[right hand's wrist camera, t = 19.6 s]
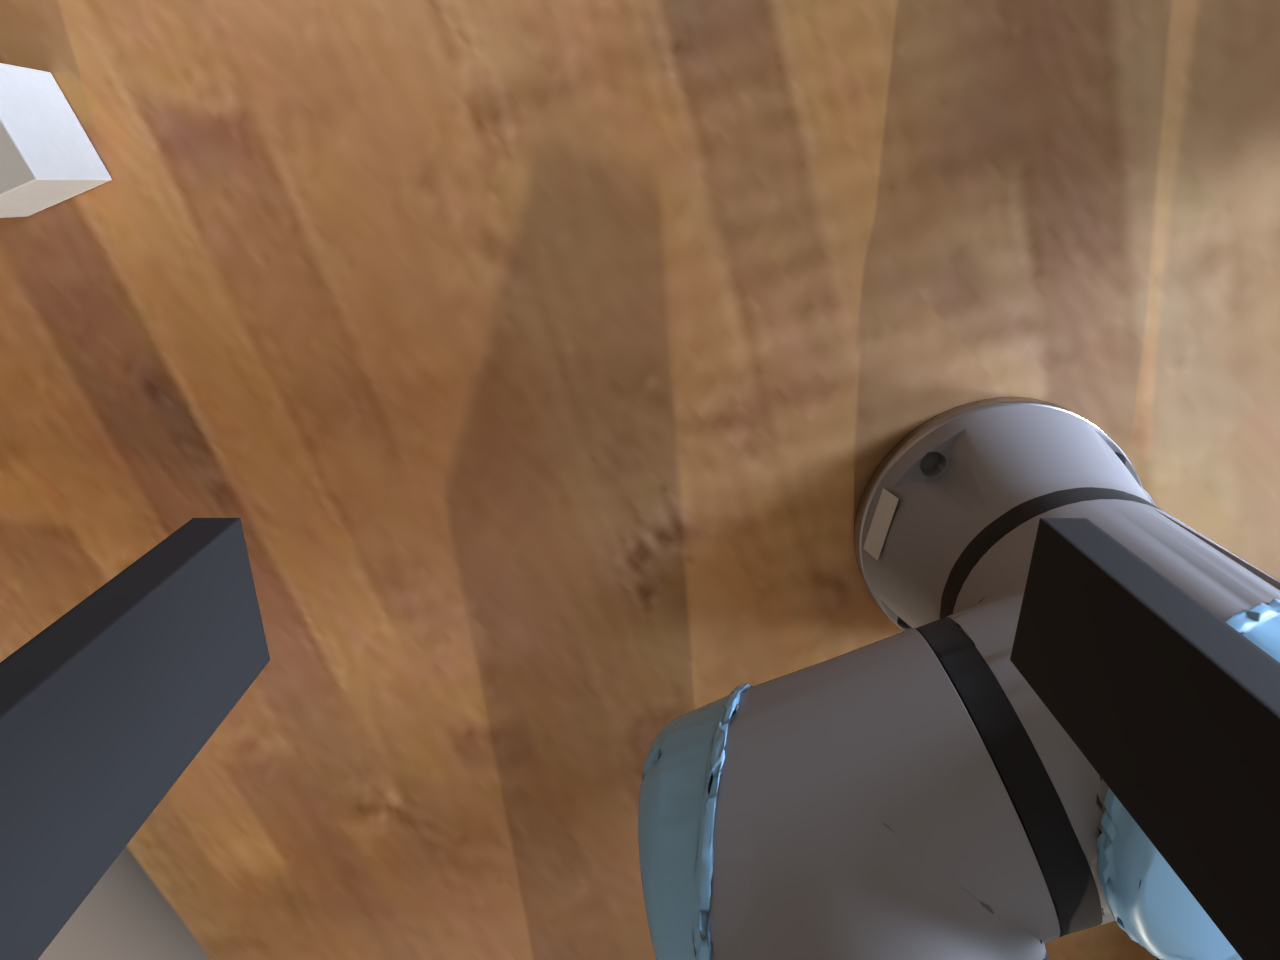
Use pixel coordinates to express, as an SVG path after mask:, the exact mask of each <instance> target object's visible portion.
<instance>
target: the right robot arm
mask: <svg viewBox="0 0 1280 960" xmlns="http://www.w3.org/2000/svg"><path fill="white" fill-rule="evenodd" d="M854 542H855V553H856V559H857V563H858V566H859V570H860V573H861V575H862V577H863V580H864V582H865V584H866V585H867V587H868V589H869V591H870V593H871V594H872V596H873V598H874V600H875V601H876V603H877V604H878V605H879V607H880V608H881V610H882V611H883V612H884V613H885V614H886V615H887V616H888V617H889V618H890V620H891V621H892V622H893V623H894V624H895V625H896V626H897V627H898V628H900V629H901V630H902V631H903V632H901V633H899V634H896V635H893V636H891V637H888V638H885V639H883V640H880V641H878V642H875V643H872V644H870V645H867V646H864V647H862V648H859V649H856V650H854V651H851V652H848V653H846V654H843V655H840V656H838V657H835V658H833V659H830V660H827V661H824V662H821V663H819V664H816V665H813V666H810V667H807V668H804V669H802V670H799V671H796V672H793V673H790V674H788V675H785V676H782V677H779V678H776V679H774V680H771V681H768V682H765V683H762V684H759V685H757V686H754V687H753V686H751V685H749V684H744V685H741V686H738V687H736V688H735V689H734V690H733V691H732V692H731V693H730V695H729V696H726V697H724V698H722V699H719V700H717V701H715V702H712V703H710V704H708V705H705V706H703V707H701V708H698V709H696V710H694V711H691V712H689V713H687V714H684V715H682V716H680V717H678V718H676V719H674V720H673V721H671V722H670V723H669V724H667V725H666V726H665V727H664V728H663V729H662V730H661V731H660V733H659V734H658V735H657V737H656V739H655V740H654V742H653V743H652V745H651V747H650V750H649V753H648V755H647V758H646V761H645V765H644V771H643V778H642V783H641V786H640V795H639V814H638V838H639V856H640V868H641V878H642V886H643V894H644V901H645V907H646V913H647V919H648V924H649V929H650V934H651V939H652V944H653V948H654V952H655V956H656V960H1050V959H1049V957H1048V955H1047V953H1046V949H1045V943H1046V942H1048V941H1051V940H1053V939H1056V938H1058V937H1062V936H1063V935H1067V934H1070V933H1073V932H1077V931H1080V930H1084V929H1087V928H1091V927H1094V926H1097V925H1099V926H1100V925H1103V924H1106V923H1109V922H1113V921H1116V923H1117V924H1118V926H1119V927H1120V928H1121V929H1123V930H1124V931H1125V932H1127V934H1128V936H1129V937H1130V939H1131V940H1133V941H1135V942H1137V943H1139V944H1140V946H1143V947H1144V948H1145V949H1146V950H1148V951H1149V952H1150V953H1151V954H1152V955H1154V956H1155V957H1157V958H1158V959H1160V960H1280V582H1279V581H1277V580H1276V579H1274V578H1272V577H1271V576H1269V575H1267V574H1266V573H1264V572H1262V571H1261V570H1259V569H1257V568H1256V567H1254V566H1252V565H1251V564H1249V563H1248V562H1246V561H1244V560H1243V559H1241V558H1239V557H1238V556H1236V555H1234V554H1233V553H1231V552H1230V551H1228V550H1226V549H1225V548H1223V547H1221V546H1220V545H1218V544H1217V543H1215V542H1213V541H1212V540H1210V539H1208V538H1207V537H1205V536H1204V535H1202V534H1200V533H1199V532H1197V531H1196V530H1194V529H1192V528H1191V527H1189V526H1187V525H1186V524H1184V523H1183V522H1181V521H1179V520H1178V519H1176V518H1174V517H1173V516H1171V515H1169V514H1167V513H1166V512H1164V511H1163V510H1161V509H1159V508H1158V507H1156V505H1155V503H1154V502H1153V500H1152V498H1151V497H1150V496H1149V494H1148V493H1147V492H1146V491H1145V490H1143V489H1142V486H1141V483H1140V480H1139V478H1138V476H1137V473H1136V471H1135V469H1134V468H1133V466H1132V464H1131V462H1130V461H1129V459H1128V458H1127V456H1126V455H1125V453H1124V452H1123V451H1122V450H1121V449H1120V447H1119V446H1118V445H1117V444H1116V443H1115V442H1114V441H1113V440H1112V439H1111V438H1110V437H1108V436H1107V435H1106V434H1105V433H1104V432H1103V431H1102V430H1100V429H1099V428H1098V427H1097V426H1095V425H1094V424H1092V423H1091V422H1089V421H1088V420H1086V419H1084V418H1082V417H1080V416H1079V415H1077V414H1075V413H1073V412H1071V411H1069V410H1067V409H1065V408H1063V407H1060V406H1058V405H1055V404H1052V403H1049V402H1045V401H1041V400H1036V399H1030V398H1019V397H1003V398H992V399H985V400H980V401H976V402H971V403H968V404H965V405H961V406H958V407H955V408H953V409H951V410H948V411H946V412H944V413H941V414H940V415H938V416H936V417H934V418H932V419H930V420H928V421H927V422H925V423H924V424H922V425H921V426H919V427H918V428H916V429H915V430H914V431H912V432H911V433H910V434H908V435H907V436H906V437H905V438H904V439H903V440H901V441H900V442H899V443H898V444H897V445H896V446H895V447H894V448H893V449H892V450H891V451H890V453H889V454H888V455H887V456H886V457H885V458H884V460H883V461H882V462H881V464H880V465H879V466H878V468H877V469H876V471H875V472H874V474H873V476H872V477H871V479H870V481H869V483H868V485H867V487H866V489H865V491H864V494H863V496H862V499H861V501H860V505H859V508H858V512H857V517H856V523H855V534H854ZM269 661H270V657H269V652H268V648H267V643H266V638H265V633H264V629H263V624H262V619H261V615H260V610H259V605H258V600H257V596H256V591H255V586H254V581H253V577H252V572H251V567H250V563H249V558H248V553H247V548H246V544H245V539H244V534H243V529H242V525H241V520H240V518H193V519H191V520H190V521H189V522H187V523H186V524H185V525H183V526H182V527H181V528H179V529H178V530H177V531H175V532H174V533H173V534H171V535H170V536H169V537H167V538H166V539H165V540H163V541H162V542H161V543H159V544H158V545H157V546H155V547H154V548H153V549H151V550H150V551H149V552H147V553H146V554H145V555H143V556H142V557H141V558H139V559H138V560H137V561H135V562H134V563H133V564H131V565H130V566H129V567H127V568H126V569H125V570H123V571H122V572H121V573H119V574H118V575H117V576H115V577H114V578H113V579H111V580H110V581H109V582H107V583H106V584H105V585H103V586H102V587H101V588H99V589H98V590H97V591H95V592H94V593H93V594H91V595H90V596H89V597H87V598H86V599H85V600H83V601H82V602H81V603H79V604H78V605H77V606H75V607H74V608H73V609H71V610H70V611H69V612H67V613H66V614H65V615H63V616H62V617H61V618H59V619H58V620H57V621H55V622H54V623H53V624H51V625H50V626H49V627H47V628H46V629H45V630H43V631H42V632H41V633H39V634H38V635H37V636H35V637H34V638H33V639H31V640H30V641H29V642H27V643H26V644H25V645H23V646H22V647H21V648H19V649H18V650H17V651H15V652H14V653H13V654H11V655H10V656H9V657H7V658H6V659H5V660H3V661H2V662H1V663H0V960H38V958H39V957H40V956H41V954H42V953H43V952H44V951H45V949H46V948H47V947H48V945H49V944H50V943H51V942H52V940H53V939H54V938H55V936H56V935H57V934H58V933H59V931H60V930H61V929H62V927H63V926H64V925H65V923H66V922H67V921H68V920H69V918H70V917H71V916H72V914H73V913H74V912H75V911H76V909H77V908H78V907H79V905H80V904H81V903H82V902H83V900H84V899H85V898H86V896H87V895H88V894H89V893H90V891H91V890H92V889H93V887H94V886H95V885H96V884H97V882H98V881H99V880H100V878H101V877H102V876H103V874H104V873H105V872H106V871H107V869H108V868H109V867H110V865H111V864H112V863H113V862H114V860H115V859H116V858H117V856H118V855H119V854H120V853H121V851H122V850H123V849H124V847H125V846H126V845H127V844H128V842H129V841H130V840H131V838H132V837H133V836H134V835H135V833H136V832H137V831H138V829H139V828H140V827H141V826H142V824H143V823H144V822H145V820H146V819H147V818H148V817H149V815H150V814H151V813H152V811H153V810H154V809H155V808H156V806H157V805H158V804H159V802H160V801H161V800H162V798H163V797H164V796H165V795H166V793H167V792H168V791H169V789H170V788H171V787H172V786H173V784H174V783H175V782H176V780H177V779H178V778H179V777H180V775H181V774H182V773H183V771H184V770H185V769H186V768H187V766H188V765H189V764H190V762H191V761H192V760H193V759H194V757H195V756H196V755H197V753H198V752H199V751H200V750H201V748H202V747H203V746H204V744H205V743H206V742H207V740H208V739H209V738H210V737H211V735H212V734H213V733H214V731H215V730H216V729H217V728H218V726H219V725H220V724H221V722H222V721H223V720H224V719H225V717H226V716H227V715H228V713H229V712H230V711H231V710H232V708H233V707H234V706H235V704H236V703H237V702H238V701H239V699H240V698H241V697H242V695H243V694H244V693H245V692H246V690H247V689H248V688H249V686H250V685H251V684H252V682H253V681H254V680H255V679H256V677H257V676H258V675H259V673H260V672H261V671H262V670H263V668H264V667H265V666H266V664H267V663H268V662H269Z"/></svg>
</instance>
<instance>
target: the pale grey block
mask: <svg viewBox="0 0 1280 960" xmlns="http://www.w3.org/2000/svg"><path fill="white" fill-rule="evenodd" d="M111 180H112V178H111V177H110V175H109V173H108V171H107V170H106V168H105V166H104V165H103V163H102V161H101V159H100V158H99V156H98V154H97V152H96V151H95V149H94V147H93V145H92V144H91V142H90V140H89V138H88V137H87V135H86V133H85V131H84V130H83V128H82V126H81V125H80V123H79V121H78V119H77V118H76V116H75V114H74V112H73V111H72V109H71V107H70V105H69V104H68V102H67V100H66V98H65V97H64V95H63V93H62V91H61V90H60V88H59V86H58V85H57V83H56V81H55V79H54V78H53V76H52V74H51V73H50V72H46V71H41V70H36V69H30V68H25V67H20V66H14V65H9V64H4V63H0V218H7V217H26V216H30V215H32V214H34V213H37V212H39V211H41V210H44V209H46V208H48V207H51V206H53V205H55V204H57V203H60V202H62V201H64V200H67V199H69V198H71V197H74V196H76V195H78V194H81V193H83V192H85V191H88V190H90V189H92V188H95V187H97V186H99V185H102V184H104V183H106V182H108V181H111Z"/></svg>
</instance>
